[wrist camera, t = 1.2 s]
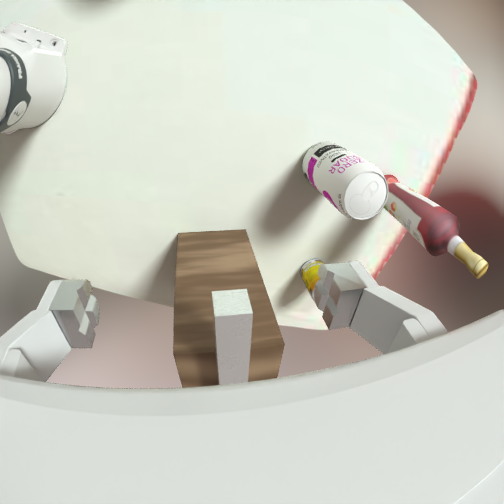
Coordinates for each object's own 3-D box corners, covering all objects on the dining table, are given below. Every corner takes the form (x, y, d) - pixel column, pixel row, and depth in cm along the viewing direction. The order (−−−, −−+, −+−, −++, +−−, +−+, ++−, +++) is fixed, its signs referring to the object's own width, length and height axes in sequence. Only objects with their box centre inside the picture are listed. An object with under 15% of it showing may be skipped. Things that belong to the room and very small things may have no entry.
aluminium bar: (211, 291, 24) (214, 316, 22) (246, 288, 25) (253, 313, 22) (219, 400, 35) (222, 418, 32) (241, 397, 35) (245, 416, 33)
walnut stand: (178, 233, 49) (173, 354, 28) (245, 229, 51) (284, 344, 30) (184, 289, 56) (188, 406, 35) (243, 285, 58) (272, 398, 37)
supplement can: (326, 192, 50) (367, 233, 38) (291, 169, 47) (328, 205, 34) (351, 158, 47) (401, 188, 35) (319, 131, 44) (366, 154, 31)
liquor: (361, 186, 51) (463, 273, 28) (388, 164, 49) (497, 237, 26) (376, 211, 54) (466, 300, 31) (401, 190, 53) (497, 268, 30)
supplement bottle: (295, 267, 58) (311, 300, 50) (318, 253, 57) (338, 284, 49) (306, 283, 61) (322, 316, 53) (327, 269, 60) (347, 301, 52)
